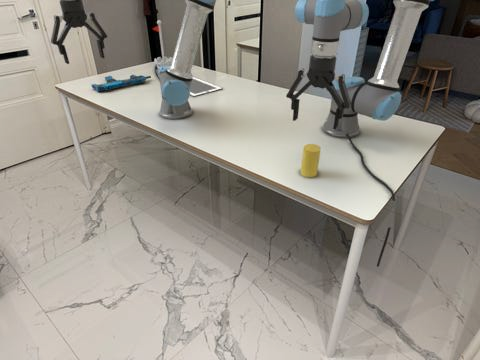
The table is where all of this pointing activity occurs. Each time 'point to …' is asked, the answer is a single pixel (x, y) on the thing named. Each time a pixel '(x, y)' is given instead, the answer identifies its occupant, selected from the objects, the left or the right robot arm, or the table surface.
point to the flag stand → (164, 60)
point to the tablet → (201, 87)
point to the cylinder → (310, 160)
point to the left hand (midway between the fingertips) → (85, 60)
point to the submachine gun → (119, 82)
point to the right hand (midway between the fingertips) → (314, 123)
